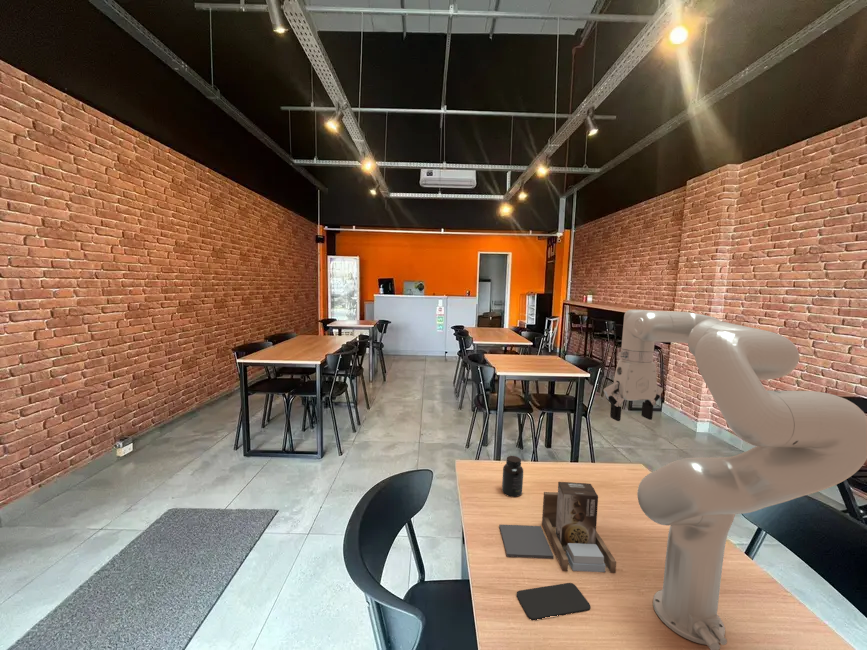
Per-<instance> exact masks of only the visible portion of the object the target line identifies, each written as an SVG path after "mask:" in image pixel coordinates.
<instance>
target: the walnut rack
mask: <svg viewBox="0 0 867 650" xmlns="http://www.w3.org/2000/svg"><path fill="white" fill-rule="evenodd" d="M557 498H558V491H557V492H556V491H555V492H554V491H553V492H552V491H544V492H543V502H542V503H543V504H542V519H541V525H542V527H543V528H542V529H544V530H543V531H544V532H545V534H546V536H547V537H546V538H548V541H549V543H550V545H551V547H552V550H553V552H554V554H555V555H554V556H556V559H557V561H558V564H559V566H560V568H561V570H562V572H563V571H565V572H567V571H568V570H569V562H568V558H567V556H566V551H565V550H563V548H562V545H561V543H560V541H559V539H558V537H557V535H556V533H555V532H556V530H554V528H556V515H557ZM595 544H596V545H597V546H598V548H599V550H600V551H601V553H602V555H603V556H604V564H605V565H606V568H607V570H608V571H609V573H611V574H612V573H613V574H615V573H616V569H617V560H616V559H615V557H614V555H613V554H612V553H611V551H610V550H609V548H608V546H607V545H606V544H605V542H604V540H603V539H602V538H601V536H600V534H599V533H598V532H597V530H596V540H595Z"/></svg>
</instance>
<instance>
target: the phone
mask: <svg viewBox="0 0 867 650" xmlns="http://www.w3.org/2000/svg"><path fill="white" fill-rule="evenodd" d="M515 595H516V599H517V600H518V602H519V605H520V606H521V608H522V610H523V612H524V613H525V615H526V617H527V618H528V619H529V620H530V619H531V621H533V620H535V621H538V620H537V619H541V620H543V619H542V618H545V617H550V616H557V615H558V616H557V617H560V616H559V615H562V616H566V614H567V615H571V613H572V614H578V613H583V612H587V611H590V610H591V604H590V603H589V602H588V600H587V599H586V597H585V596H584V595H583V593H582V592H581V590H580V589H579V588H578V587H577V585H576V584H574V583H572V582H565V583H560V584H552V585H546V586H540V587H533V588H527V589H521V590H517V591H516V594H515Z"/></svg>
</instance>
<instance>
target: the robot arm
mask: <svg viewBox="0 0 867 650" xmlns="http://www.w3.org/2000/svg"><path fill="white" fill-rule="evenodd" d="M656 343H680V344H681V343H682V344H683V343H684V344H687V347H688V350H689V352H690V353H691V354H692V356H694V359H695V363H696V366H697V369H698V371H699V373H700V375H701V376H702V377H701V378H702V379H703V381H704V383H705V385H706V386H707V389H708V390H709V393H710V394H711V396H712V398H713V399H714V401H715V404H716V406H717V407H718V409H719V411H720V413H721V415H722V417H723V419H724V421H725V422H726V424H727V426H728V428H730V430H731V431H732V432H733V433H734V434H735V435H736V436H737V437H738V438H739V439H741V440H742V441H743V442H745V443H747V444H749V445H752V446H754V447H752V448H750V449H748V450H745V451H744V452H740V453H739V454H735V455H732V456H726V457H725V456H723V457H719V456H717V457H716V456H715V457H711V456H710V457H685V458H684V457H683V458H681V459H680V458H679V459H676V460H674V461H671V462H669V463H667V464H665V465H663V466H661V467H659V468H657V469H656V470H654V471H652V472H650V473H647V474H646V475H645V476H644V477H643V478H642V479H641V480H640V482H639V484H638V487H637V492H636V493H637V494H636V495H637V501H638V505H639V507H640V509H641V511H642V512H643V513H644V515H645V516H646V517H647V518H648V519H649V520H651V521H653V522H654V523H657V524H658V525H661V526H669V530H668V534H667V540H666V541H667V542H666V551H665V552H666V553H665V562H664V563H665V564H664V573H663V582H662V583H663V585H662V589H660V590H658V591H656V592H655V593H654V595H653V599H652V607H653V610H654V612H655V613H656V615H657V617H659V619H660V620H661V622H663V624H665V626H667V627H668V628H669V629H670V630H671V631H673V632H674V633H676V634H677V635H679V636H681V637H682V638H684V639H687V640H689V641H691V642H693V643H697V644H700V645H706V646H707V647H708V648H709V649H710V650H720V649H721V645H726V644H727V643H728V640H727V638H726V637H725V635H726V627H725V624H724V622H723V620H722V619H721V617H720V616H719V615H718V609H719V599H720V598H719V597H720V590H721V581H722V572H723V564H724V557H725V549H726V542H727V538H728V535H729V532H730V529H731V527H732V525H733V522H734V520H735V516H736V515H740V514H741V515H743V514H749V513H753V512H757V511H759V510H763V509H766V508H767V507H772V506H776V505H779V504H783V503H786V502H789V501H792V500H795V499H797V498H801V497H802V498H803V497H804V496H807V495H812V494H814V493H818V492H822V491H825V490H827V489H831V488H832V487H834V486H837V485H838V484H840V483H842V482H844V481H846V480H847V479H849V478H851V477H852V476H853V475H855V474H856V473H857V472H858V471H859V470H860V469H861V468H862V467H863V465H865V462H866V461H867V414H865V412H864V410H863V409H861V408H860V407H859V406H858V405H856V404H855V403H854V402H852V401H850V400H848V398H844V397H841V396H838V395H836V394H832V393H828V392H822V391H813V390H767V389H766V388H765V386H764V385H763V383H762V381H765V380H766V381H767V380H776V379H780V378H783V377H785V376H787V375H788V374H790V373H791V372H792V371H794V370H795V368H796V367H797V366H798V364H799V362H800V353H799V350H798V348H797V346H796V345H795V344H794V343H793V341H791V340H790V339H789V338H787V337H786V336H783V335H781V334H779V333H776V332H773V331H770V330H765V329H761V328H755V327H752V326H745V325H741V324H736V323H731V322H728V321H721V320H719V319H718V318H717V317H715V316H710V315H706V314H700V313H696V312H689V311H676V310H675V311H670V310H669V311H667V310H666V311H665V310H648V309H628V310H626V311H625V313H624V315H623V327H622V337H621V349H620V351H619V352H618V353H617V357H619V358H620V360H619V359H618V362H617V364H616V368H615V373H614V378H613V383H611V384H610V385H608V386H606V387H605V388H603V393H604V395H605V399H606V401H608V403H609V404H610V412H609V413H610V414H609V415H610V418H611V419H612V420H614V421H616V422H621V417H622V406H621V404H622V403H623V402H624V401H625V400H626V401H631V402H632V401H642V405H641V415H640V416H641V417H643V418H645V419H647V420H651V421H652V420H653V413H654V412H653V411H654V406H656V405H657V402H658V400H659V399H660V398H661V394H662V393H663V391H664V389H663V387H661V386H660V385H658V379H657V378H658V373H657V365H656V362H654V361H653V360H654V352H655V344H656ZM612 393H613V394H612ZM720 644H721V645H720Z"/></svg>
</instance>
